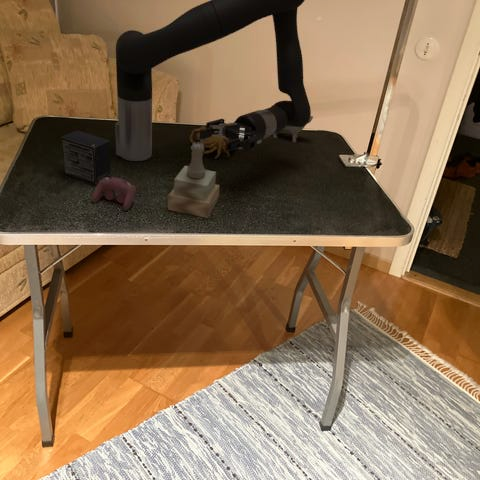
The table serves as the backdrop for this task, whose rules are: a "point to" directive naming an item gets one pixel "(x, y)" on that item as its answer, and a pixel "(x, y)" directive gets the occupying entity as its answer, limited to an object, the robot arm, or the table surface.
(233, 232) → the table surface
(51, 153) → the table surface
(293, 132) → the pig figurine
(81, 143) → the small box
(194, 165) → the rook chess piece
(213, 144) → the crab model
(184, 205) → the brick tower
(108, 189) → the video game controller
